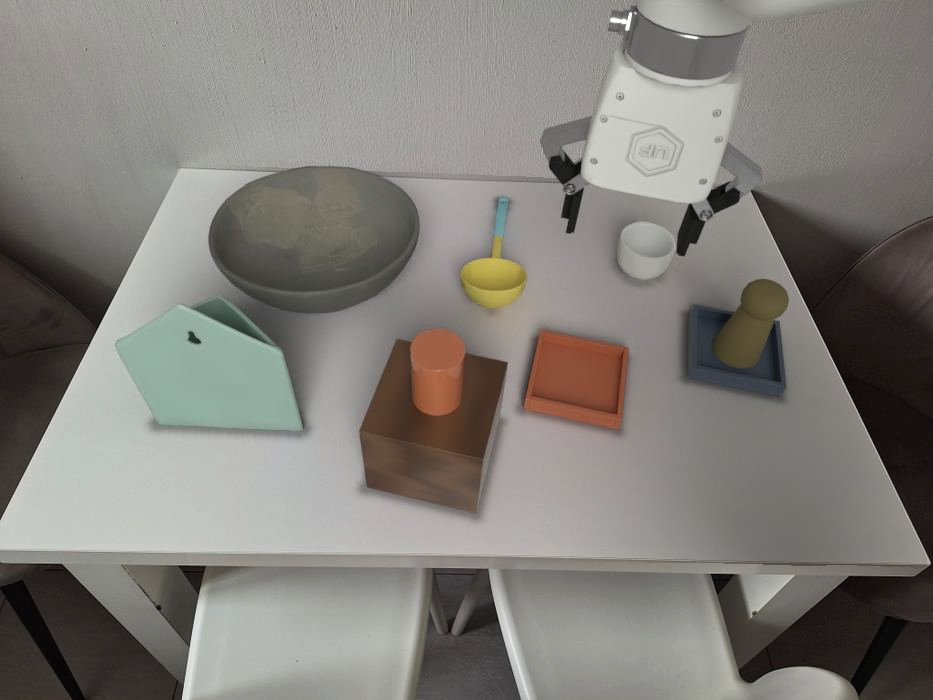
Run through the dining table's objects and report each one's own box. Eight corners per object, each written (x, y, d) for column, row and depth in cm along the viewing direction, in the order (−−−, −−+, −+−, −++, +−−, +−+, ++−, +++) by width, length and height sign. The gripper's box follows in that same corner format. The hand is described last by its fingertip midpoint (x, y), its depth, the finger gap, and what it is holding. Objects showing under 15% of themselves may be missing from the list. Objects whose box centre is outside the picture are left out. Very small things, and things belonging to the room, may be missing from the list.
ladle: (455, 318, 85) (456, 279, 81) (475, 227, 106) (476, 193, 102) (523, 324, 84) (527, 285, 81) (529, 231, 105) (532, 197, 102)
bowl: (204, 348, 81) (181, 291, 73) (247, 213, 98) (231, 155, 90) (417, 352, 82) (416, 296, 74) (422, 218, 99) (422, 161, 91)
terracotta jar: (467, 380, 66) (471, 334, 60) (455, 420, 62) (458, 376, 57) (419, 370, 66) (418, 323, 61) (405, 409, 63) (403, 364, 58)
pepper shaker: (765, 345, 85) (803, 284, 76) (752, 376, 81) (790, 315, 73) (720, 325, 86) (752, 264, 78) (705, 354, 83) (737, 293, 75)
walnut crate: (499, 421, 76) (508, 361, 67) (476, 513, 68) (483, 460, 60) (400, 399, 77) (396, 338, 69) (366, 487, 70) (358, 431, 61)
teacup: (670, 289, 91) (681, 260, 87) (616, 286, 91) (625, 257, 87) (657, 242, 98) (667, 213, 94) (606, 239, 98) (614, 210, 93)
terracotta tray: (625, 358, 83) (629, 347, 81) (617, 430, 76) (622, 419, 74) (538, 340, 84) (540, 329, 83) (523, 409, 77) (525, 398, 75)
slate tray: (773, 331, 87) (779, 320, 85) (779, 397, 80) (786, 387, 78) (688, 314, 88) (693, 304, 87) (687, 378, 81) (692, 367, 80)
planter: (315, 376, 79) (288, 252, 64) (303, 431, 74) (270, 311, 59) (178, 369, 78) (119, 243, 63) (157, 425, 73) (86, 302, 58)
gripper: (549, 43, 43) (521, 242, 56) (820, 87, 41) (725, 284, 54) (567, -2, 48) (537, 191, 61) (810, 36, 46) (725, 228, 59)
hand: (625, 234), depth 58 cm, fingers open, 9 cm apart
